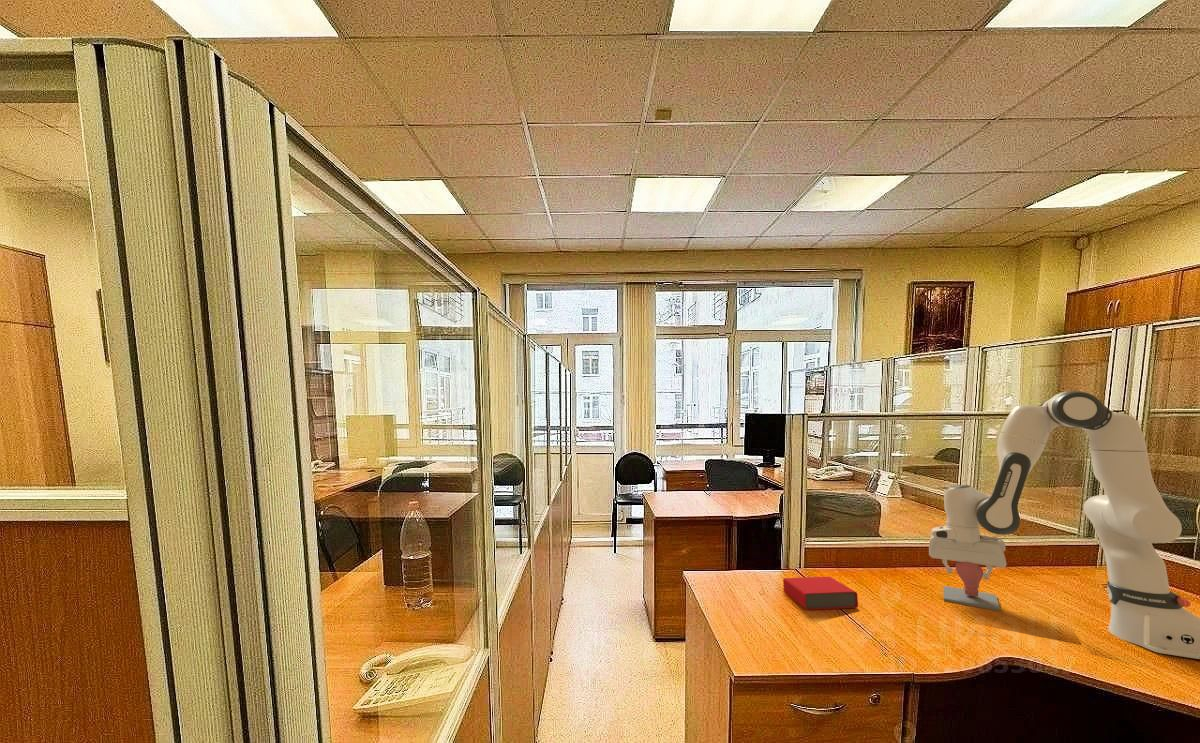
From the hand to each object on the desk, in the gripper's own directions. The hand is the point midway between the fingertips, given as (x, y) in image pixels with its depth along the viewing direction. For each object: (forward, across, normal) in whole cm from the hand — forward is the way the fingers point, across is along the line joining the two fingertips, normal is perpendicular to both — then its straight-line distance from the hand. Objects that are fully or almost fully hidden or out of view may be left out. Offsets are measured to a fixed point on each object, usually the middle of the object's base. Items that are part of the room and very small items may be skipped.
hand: (967, 575), depth 148 cm
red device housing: (+8, +40, +30) cm, 51 cm away
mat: (+7, 0, 0) cm, 7 cm away
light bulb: (+7, -1, 0) cm, 7 cm away
